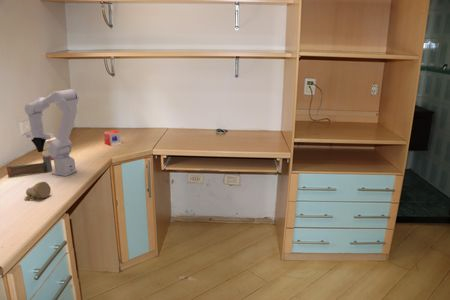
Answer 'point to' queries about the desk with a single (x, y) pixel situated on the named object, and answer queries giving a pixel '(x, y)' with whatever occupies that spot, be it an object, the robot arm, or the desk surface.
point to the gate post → (47, 163)
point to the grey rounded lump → (38, 191)
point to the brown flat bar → (26, 169)
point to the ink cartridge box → (47, 144)
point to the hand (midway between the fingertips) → (40, 151)
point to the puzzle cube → (112, 138)
